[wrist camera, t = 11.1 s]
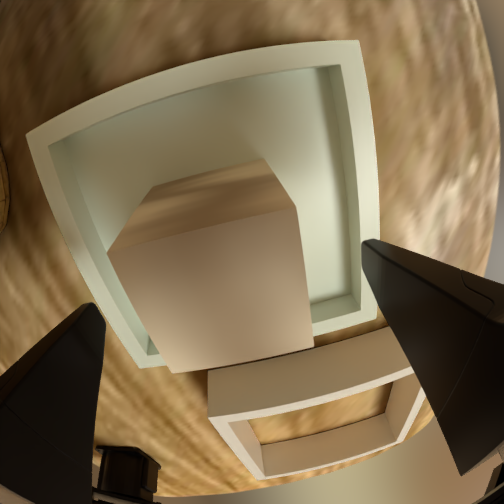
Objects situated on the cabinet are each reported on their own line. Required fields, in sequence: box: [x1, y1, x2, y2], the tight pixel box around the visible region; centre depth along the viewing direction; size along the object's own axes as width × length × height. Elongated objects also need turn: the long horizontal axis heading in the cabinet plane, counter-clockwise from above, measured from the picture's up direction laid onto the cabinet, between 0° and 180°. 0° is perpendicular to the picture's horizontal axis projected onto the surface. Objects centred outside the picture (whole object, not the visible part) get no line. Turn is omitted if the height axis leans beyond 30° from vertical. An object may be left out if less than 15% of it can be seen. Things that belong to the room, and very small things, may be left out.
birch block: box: [106, 159, 314, 374], centre depth 11 cm, size 5×5×6 cm
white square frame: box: [208, 326, 426, 480], centre depth 22 cm, size 16×16×4 cm
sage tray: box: [25, 40, 380, 368], centre depth 13 cm, size 14×14×2 cm
